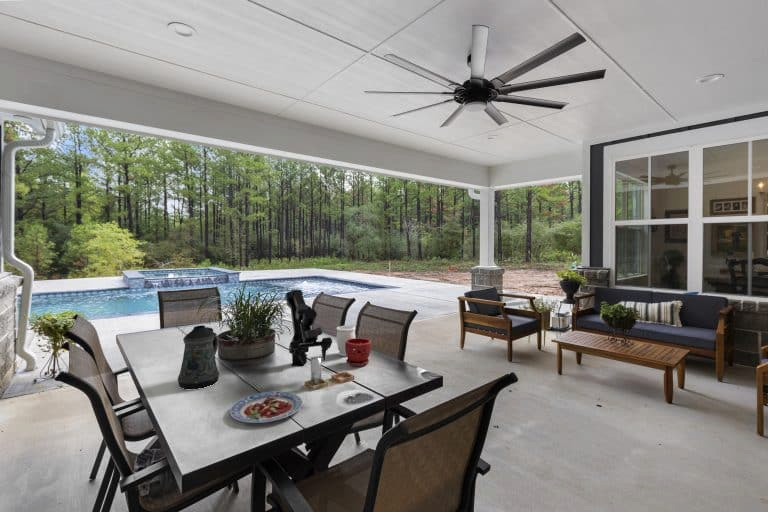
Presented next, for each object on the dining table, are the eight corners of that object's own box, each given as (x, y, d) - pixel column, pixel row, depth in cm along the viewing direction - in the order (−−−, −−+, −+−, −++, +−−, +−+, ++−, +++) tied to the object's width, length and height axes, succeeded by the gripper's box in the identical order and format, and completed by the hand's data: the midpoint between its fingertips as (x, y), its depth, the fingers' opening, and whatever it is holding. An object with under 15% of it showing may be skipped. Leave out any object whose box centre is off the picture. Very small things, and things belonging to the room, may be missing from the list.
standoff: (309, 387, 160) (309, 359, 160) (312, 383, 165) (312, 356, 164) (320, 387, 160) (319, 360, 159) (322, 384, 164) (322, 356, 164)
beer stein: (173, 392, 157) (171, 332, 156) (184, 376, 176) (183, 322, 175) (216, 388, 161) (215, 330, 160) (222, 372, 180) (221, 320, 179)
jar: (354, 357, 203) (354, 329, 203) (335, 357, 204) (335, 329, 203) (356, 351, 214) (356, 325, 213) (338, 351, 214) (338, 325, 213)
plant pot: (367, 368, 185) (367, 344, 185) (342, 367, 188) (341, 343, 187) (373, 360, 198) (373, 337, 198) (349, 358, 201) (349, 336, 200)
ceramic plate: (276, 391, 159) (276, 384, 158) (316, 408, 142) (316, 401, 142) (216, 413, 139) (216, 405, 138) (255, 436, 122) (255, 427, 122)
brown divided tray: (310, 392, 156) (310, 387, 156) (302, 386, 163) (302, 381, 163) (356, 381, 169) (356, 376, 169) (346, 375, 176) (346, 371, 176)
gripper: (289, 323, 165) (295, 355, 155) (330, 319, 173) (338, 349, 163) (286, 337, 172) (291, 368, 163) (326, 333, 180) (333, 362, 171)
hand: (314, 362), depth 165 cm, fingers open, 9 cm apart
